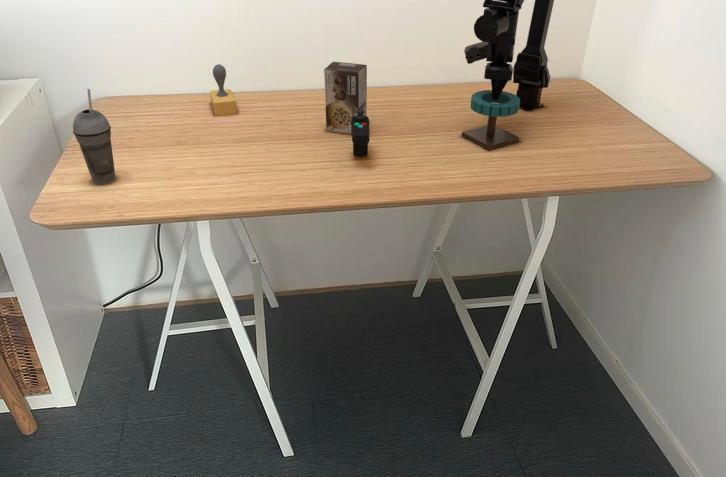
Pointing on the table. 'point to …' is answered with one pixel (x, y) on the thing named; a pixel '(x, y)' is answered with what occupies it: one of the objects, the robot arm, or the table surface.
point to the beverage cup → (95, 144)
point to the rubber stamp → (222, 94)
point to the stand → (490, 135)
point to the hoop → (495, 104)
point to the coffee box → (344, 94)
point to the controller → (360, 133)
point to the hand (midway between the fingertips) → (495, 97)
